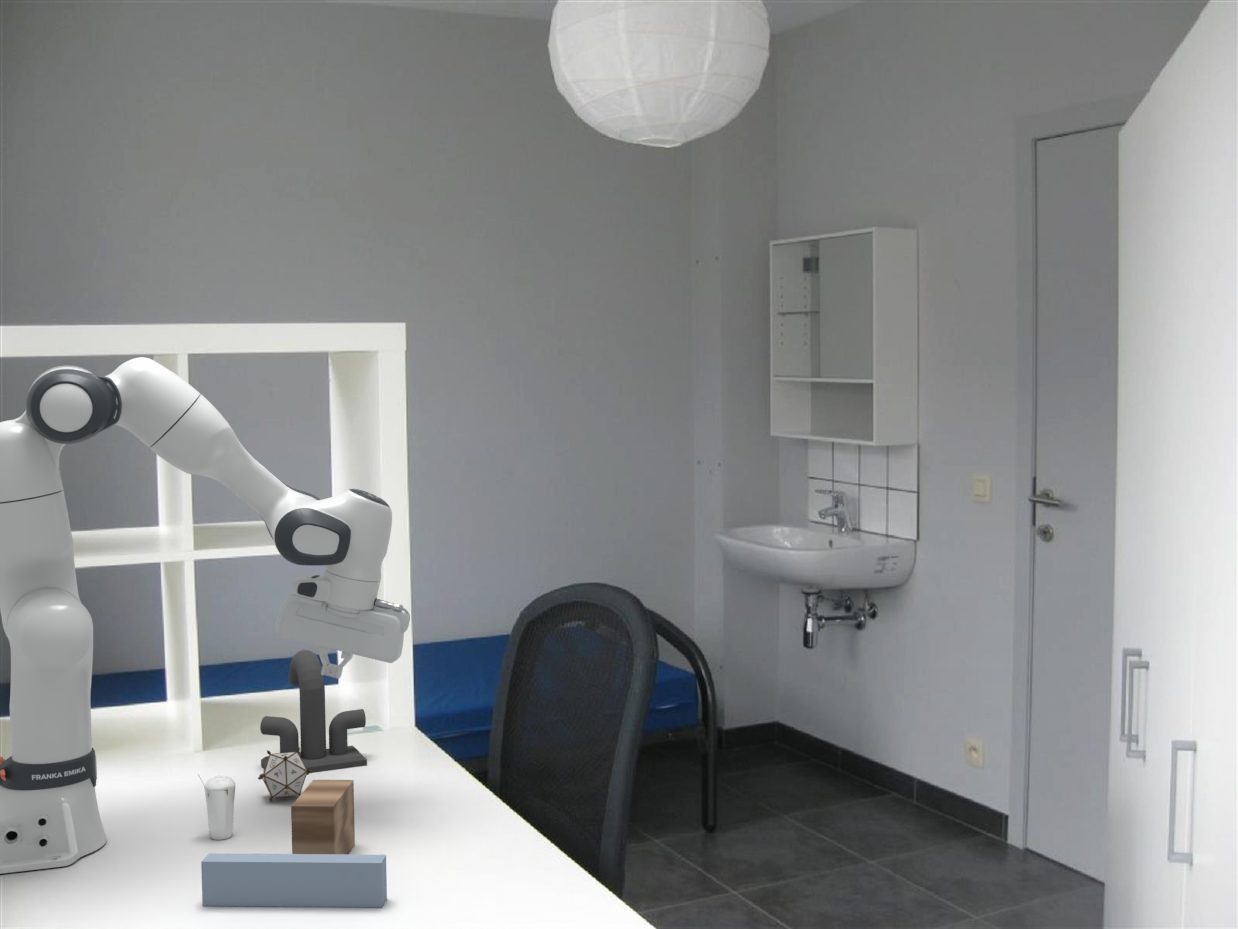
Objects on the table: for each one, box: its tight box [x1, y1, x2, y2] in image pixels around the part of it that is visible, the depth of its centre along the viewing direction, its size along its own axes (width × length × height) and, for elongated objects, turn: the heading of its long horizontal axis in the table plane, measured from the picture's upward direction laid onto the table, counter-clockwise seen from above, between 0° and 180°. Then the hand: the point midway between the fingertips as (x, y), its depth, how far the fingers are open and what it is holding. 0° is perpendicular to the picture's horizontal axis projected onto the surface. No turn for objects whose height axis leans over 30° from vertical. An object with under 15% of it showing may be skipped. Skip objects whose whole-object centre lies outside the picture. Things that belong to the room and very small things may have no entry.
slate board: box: [200, 852, 388, 908], centre depth 179 cm, size 24×3×6 cm, turn 88°
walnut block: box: [290, 779, 356, 854], centre depth 194 cm, size 12×6×10 cm, turn 178°
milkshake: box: [198, 774, 236, 841], centre depth 204 cm, size 4×5×10 cm
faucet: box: [259, 649, 368, 774], centre depth 243 cm, size 18×16×20 cm
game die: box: [257, 746, 312, 803], centre depth 222 cm, size 9×8×10 cm
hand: (330, 676), depth 214 cm, fingers closed
